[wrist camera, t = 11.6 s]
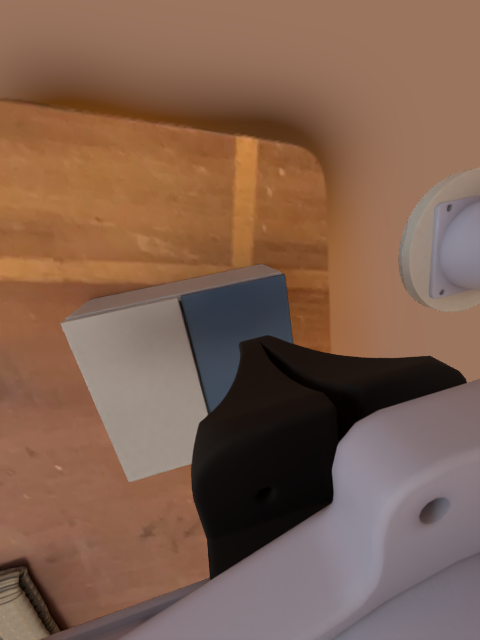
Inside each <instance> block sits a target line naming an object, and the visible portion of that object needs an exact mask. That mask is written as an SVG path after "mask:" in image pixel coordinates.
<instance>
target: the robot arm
mask: <svg viewBox="0 0 480 640" xmlns="http://www.w3.org/2000/svg"><path fill="white" fill-rule="evenodd" d="M447 206H448V209H447ZM470 290H478V291H480V195H478V196H472V197H467V198H462V199H457V200H452V201H447V202H442V203H439V204H438V205H437V206H436V208H435V215H434V229H433V244H432V258H431V272H430V286H429V296H430V297H431V298H433V299H437V298H441V297H446V296H450V295H454V294H458V293H462V292H466V291H470ZM440 291H441V292H440ZM239 350H240V362H239V366H238V370H237V373H236V376H235V379H234V381H233V383H232V385H231V387H230V389H229V391H228V393H227V394H226V396H225V397H224V399H223V400H222V401H221V403H220V404H219V405H218V406H217V407H216V408H215V409H214V410H213V411H212V412H211V413H210V414H209V415H207V416H206V417H205V418H204V419H203V420H202V421H200V423H199V425H198V429H197V433H196V437H195V443H194V448H193V455H192V465H191V477H192V492H193V499H194V503H195V505H196V508H197V511H198V514H199V517H200V520H201V523H202V526H203V529H204V532H205V535H206V538H207V545H208V558H209V571H210V578H208V579H205V580H202V581H199V582H196V583H194V584H191V585H188V586H185V587H183V588H180V589H177V590H174V591H172V592H169V593H166V594H163V595H161V596H158V597H155V598H152V599H150V600H147V601H144V602H141V603H138V604H136V605H133V606H130V607H127V608H125V609H122V610H119V611H116V612H114V613H111V614H108V615H105V616H103V617H100V618H97V619H94V620H92V621H89V622H86V623H83V624H81V625H78V626H75V627H72V628H69V629H67V630H64V631H61V632H58V633H56V634H53V635H50V636H47V637H45V638H42V639H39V640H480V379H478V380H475V381H472V382H469V383H467V382H466V379H465V378H464V376H463V375H462V374H461V373H460V372H459V371H458V370H456V369H454V368H452V367H450V366H448V365H447V364H445V363H443V362H441V361H439V360H437V359H435V358H433V357H431V356H421V357H405V358H361V357H351V356H342V355H335V354H330V353H324V352H319V351H315V350H312V349H308V348H304V347H301V346H298V345H295V344H292V343H289V342H287V341H284V340H281V339H279V338H276V337H273V336H270V335H265V336H262V337H258V338H254V339H250V340H246V341H242V342H240V343H239Z"/></svg>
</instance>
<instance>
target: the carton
mask: <svg viewBox="0 0 480 640" xmlns="http://www.w3.org/2000/svg"><path fill="white" fill-rule="evenodd" d="M279 274H282V272H281V271H278V270H276V269H273V268H271V267H268V266H266V265H263V264H259V265H254V266H249V267H244V268H240V269H235V270H230V271H225V272H220V273H216V274H211V275H206V276H201V277H196V278H192V279H187V280H182V281H177V282H172V283H168V284H163V285H158V286H153V287H148V288H144V289H139V290H134V291H129V292H124V293H120V294H115V295H110V296H105V297H100V298H96V299H91V300H89V301H88V302H86V303H85V304H84V305H82V306H81V307H80V308H78V309H77V310H76V311H74V312H73V313H71V314H70V315H69V316H67V317H66V318H65V320H66V321H63V322H62V323H61V326H62V329H63V331H64V333H65V335H66V338H67V340H68V342H69V345H70V347H71V349H72V352H73V354H74V356H75V359H76V361H77V363H78V366H79V368H80V370H81V373H82V375H83V377H84V380H85V382H86V384H87V386H88V389H89V391H90V393H91V396H92V398H93V400H94V403H95V405H96V407H97V410H98V412H99V414H100V417H101V419H102V421H103V424H104V426H105V428H106V431H107V433H108V435H109V437H110V440H111V442H112V444H113V447H114V449H115V451H116V454H117V456H118V458H119V461H120V463H121V465H122V468H123V470H124V472H125V475H126V477H127V479H128V482H132V481H135V480H139V479H142V478H145V477H149V476H152V475H155V474H159V473H162V472H165V471H169V470H172V469H175V468H179V467H182V466H185V465H189V464H192V455H193V448H194V443H195V437H196V433H197V429H198V425H199V423H200V421H202V420H203V419H204V418H205V417H206V416H207V415H209V414H210V411H209V407H208V403H207V399H206V395H205V391H204V387H203V383H202V379H201V376H200V372H199V368H198V364H197V360H196V356H195V352H194V348H193V345H192V341H191V337H190V333H189V329H188V325H187V321H186V317H185V314H184V310H183V306H182V302H181V298H180V296H181V295H185V294H189V293H194V292H199V291H203V290H208V289H213V288H218V287H222V286H227V285H232V284H237V283H241V282H246V281H251V280H256V279H260V278H265V277H270V276H275V275H279Z"/></svg>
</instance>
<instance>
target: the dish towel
mask: <svg viewBox="0 0 480 640" xmlns="http://www.w3.org/2000/svg"><path fill="white" fill-rule="evenodd" d="M58 632H61V630H60V629H59V628H58V625H57V624H56V623H55V622H54V620H53V618H52V617H51V615H50V613H49V611H48V609H47V606H46V604H45V602H44V600H43V599H42V597H41V595H40V593H39V592H38V590H37V588H36V587H35V585H34V583H33V582H32V580H31V578H30V576H29V575H28V572H27V567H25V566H21V567H16V568H10V569H6V570H1V571H0V640H39V639H42V638H45V637H47V636H50V635H53V634H56V633H58Z"/></svg>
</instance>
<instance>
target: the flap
mask: <svg viewBox="0 0 480 640" xmlns="http://www.w3.org/2000/svg"><path fill="white" fill-rule="evenodd" d="M180 298H181V302H182V306H183V310H184V314H185V317H186V321H187V325H188V329H189V333H190V337H191V341H192V345H193V348H194V352H195V356H196V360H197V364H198V368H199V372H200V376H201V379H202V383H203V387H204V391H205V395H206V399H207V403H208V407H209V411H210V413H211V412H212V411H213V410H214V409H215V408H216V407H217V406H218V405H219V404H220V403H221V401H222V400H223V399H224V397H225V396H226V394H227V393H228V391H229V389H230V387H231V385H232V383H233V381H234V379H235V376H236V373H237V370H238V366H239V362H240V350H239V343H240V342H242V341H246V340H250V339H254V338H258V337H262V336H265V335H270V336H273V337H276V338H279V339H281V340H284V341H287V342H289V343H292V344H293V338H292V330H291V321H290V312H289V304H288V295H287V287H286V278H285V275H284V274H279V275H275V276H270V277H265V278H260V279H256V280H251V281H246V282H241V283H237V284H232V285H227V286H222V287H218V288H213V289H208V290H203V291H199V292H194V293H189V294H185V295H181V296H180Z"/></svg>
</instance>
